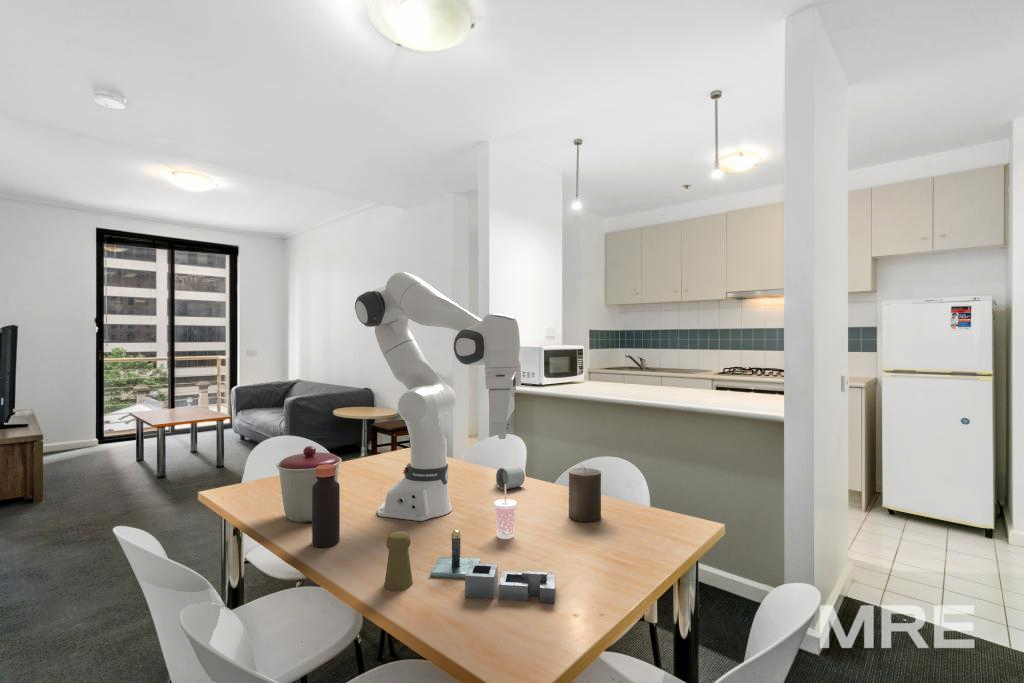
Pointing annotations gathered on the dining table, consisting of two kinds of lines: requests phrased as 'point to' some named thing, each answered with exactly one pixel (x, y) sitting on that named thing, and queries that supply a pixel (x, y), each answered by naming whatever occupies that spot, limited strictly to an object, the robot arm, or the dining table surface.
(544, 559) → the dining table surface
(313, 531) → the bottle
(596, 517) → the pillar candle
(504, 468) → the ceramic mug
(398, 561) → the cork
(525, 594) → the chain tail
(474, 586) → the end link
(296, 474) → the canister
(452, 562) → the grey plate with post
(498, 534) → the beverage cup
